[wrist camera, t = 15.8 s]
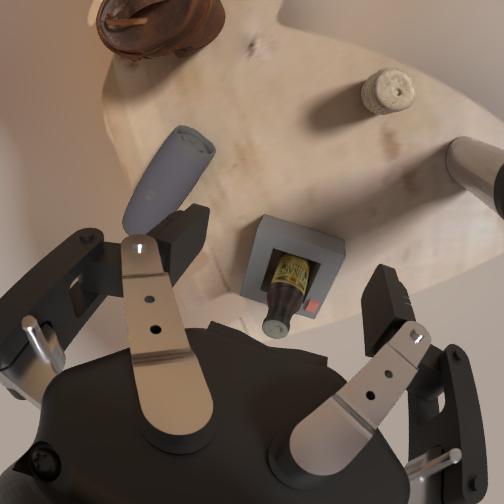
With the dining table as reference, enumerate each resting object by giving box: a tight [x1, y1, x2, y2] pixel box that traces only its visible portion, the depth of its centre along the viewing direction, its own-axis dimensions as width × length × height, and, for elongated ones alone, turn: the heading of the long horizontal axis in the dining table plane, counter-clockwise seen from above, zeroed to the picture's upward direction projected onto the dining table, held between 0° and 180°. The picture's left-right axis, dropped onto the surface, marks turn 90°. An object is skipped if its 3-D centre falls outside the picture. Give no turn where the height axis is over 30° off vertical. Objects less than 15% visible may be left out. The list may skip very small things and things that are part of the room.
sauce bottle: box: [262, 252, 310, 339], centre depth 49 cm, size 7×6×20 cm
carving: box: [361, 67, 416, 115], centre depth 32 cm, size 6×8×12 cm
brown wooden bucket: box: [96, 0, 225, 61], centre depth 30 cm, size 18×20×18 cm
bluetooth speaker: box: [122, 125, 216, 236], centre depth 50 cm, size 23×9×10 cm, turn 140°
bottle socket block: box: [240, 214, 346, 319], centre depth 54 cm, size 16×16×7 cm
